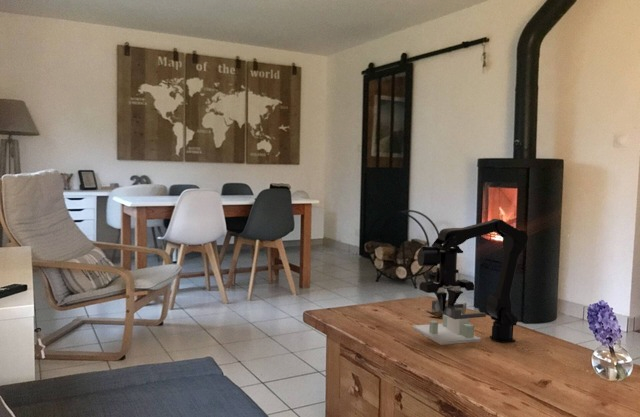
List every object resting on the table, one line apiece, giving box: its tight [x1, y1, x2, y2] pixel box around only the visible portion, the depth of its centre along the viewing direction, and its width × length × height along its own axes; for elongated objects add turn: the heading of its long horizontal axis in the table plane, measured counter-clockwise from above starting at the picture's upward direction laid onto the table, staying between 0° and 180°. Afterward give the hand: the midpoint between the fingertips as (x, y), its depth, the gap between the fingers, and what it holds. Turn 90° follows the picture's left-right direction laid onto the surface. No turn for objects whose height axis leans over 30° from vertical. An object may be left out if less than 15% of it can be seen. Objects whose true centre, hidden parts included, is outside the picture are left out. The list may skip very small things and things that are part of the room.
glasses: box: [431, 299, 487, 319], centre depth 188 cm, size 12×14×3 cm
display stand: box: [412, 315, 482, 346], centre depth 195 cm, size 16×20×7 cm
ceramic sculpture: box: [426, 299, 467, 318], centre depth 219 cm, size 11×9×15 cm
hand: (445, 310), depth 186 cm, fingers closed on glasses, 2 cm apart
